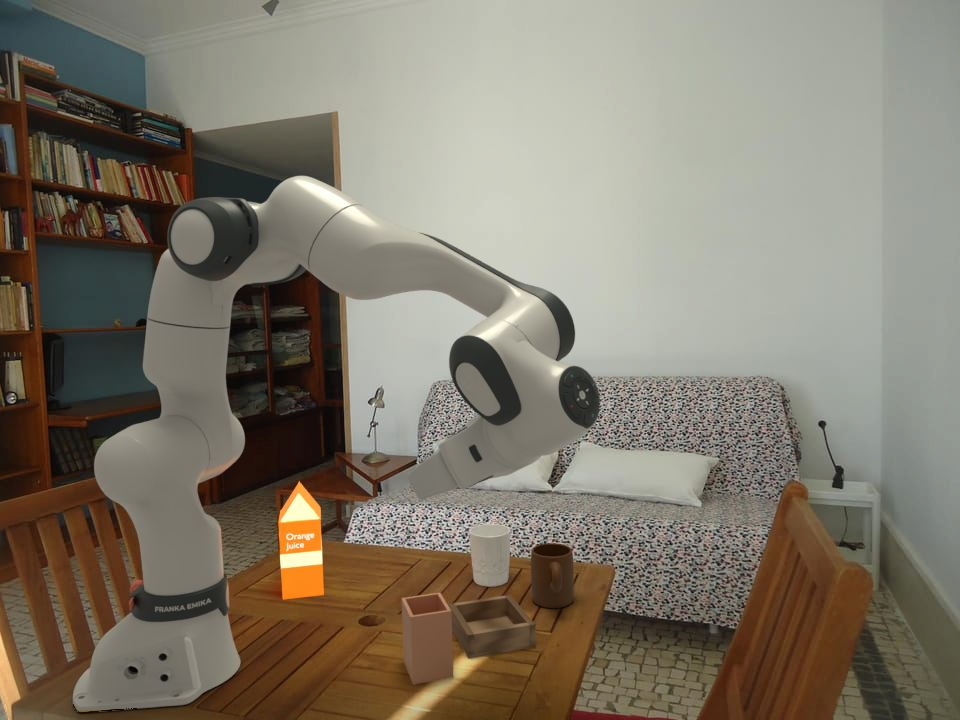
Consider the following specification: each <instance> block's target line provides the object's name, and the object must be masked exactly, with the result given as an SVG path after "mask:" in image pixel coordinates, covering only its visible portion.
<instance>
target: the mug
mask: <svg viewBox="0 0 960 720" xmlns="http://www.w3.org/2000/svg"><path fill="white" fill-rule="evenodd" d="M574 573H575V571H574V555H573V549H572V548H571V547H570V546H568V545H565V544H562V543H556V542H555V543H554V542H552V543H551V542H549V543H541V544H537V545H535V546H533V547H532V548H531V552H530V574H531V575H530V580H531V598H532V601H533V602H534V603H535V604H536V605H538V606H539V607H542V608H546V609H560V608H564V607H567V606H569V605H570V604H572V602H573V601H574V596H575V594H574V593H575V592H574V591H575V589H574V586H575V585H574V582H575V579H574V577H575V576H574Z"/></svg>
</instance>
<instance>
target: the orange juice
mask: <svg viewBox="0 0 960 720" xmlns="http://www.w3.org/2000/svg"><path fill="white" fill-rule="evenodd" d="M321 510H322V509H321V506H320V505H319V503H318V502H317V501H316V500H315V499H314V497H313V496H312V495H311V494H310V492H308V489H306V488H305V487H304V485H303V484H302V483H301V482H300V481H298V483H297V485H296V486H295V487H294V489H293V491H292V492H291V494H290V496H289V497H288V499H287V500H286V502H285V504H283V507H282V508H281V510H279V512H280V513H279V516H278V522H277V523H278V537H279V538H278V539H279V558H280V559H279V561H280V563H279V564H280V574H281V576H280V577H281V591H282V593H281V594H282V600H288V599H289V600H290V599H291V600H292V599H298V598H308V597H318V596H325V595H324V593H325V591H324V589H325V588H324V571H323V570H324V569H323V567H324V566H323V545H322V544H323V542H322V539H323V538H322V527H321V526H322V525H321V524H322V523H321V520H322V514H321V513H322V511H321Z"/></svg>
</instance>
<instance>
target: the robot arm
mask: <svg viewBox="0 0 960 720" xmlns="http://www.w3.org/2000/svg"><path fill="white" fill-rule="evenodd" d="M166 238H167V247H168V248H167V249H166V250H165V251H164V252H163V253H162V254H161V256H160V259H159V261H158V264H157V267H156V271H155V273H154V277H153V280H152V285H151V291H150V294H149V296H150V297H149V301H148V308H147V316H146V317H147V318H146V328H145V329H146V330H145V338H144V339H145V340H144V347H143V348H144V349H143V360H142V370H143V371H142V372H143V373H144V376H145V378H146V379H147V380H148V381H149V382H150V383H151V384H153V385H154V386H156V389H157V391H158V395H159V399H160V404H161V407H160V408H161V411H160V416H159V417H158V418H155V419H151V420H148V421H147V420H146V421H143V422H140V423H135V424H132V425H130V426H127V427H126V428H125V429H122V430H120V431H119V432H117V433H116V434H114V435H112V436H111V437H109V438H108V439H106V440H105V441H104V442H102V444H101V445H100V446H99V448H98V449H97V452H96V454H95V456H94V463H93V470H94V477H95V480H96V482H97V485H98V486H99V488H100V490H101V491H102V492H103V494H104V495H105V496H106V497H107V498H109V499H110V500H111V501H113V502H115V503H117V504H118V505H120V506H122V507H123V509H124V510H125V511H126V512H127V514H128V516H129V517H130V519H131V521H132V523H133V526H134V528H135V531H136V533H137V538H138V543H139V551H140V561H141V571H142V579H143V580H142V579H136V580H134V581H133V582H132V583H131V585H130V587H129V597H128V605H129V606H128V608H129V613H128V614H127V615H126V616H125V617H124V618H122V619H121V620H120V621H119V622H117V624H115V626H113V627H112V628H110V629H109V630H108V631H107V632H106V633H105V634H104V635H103V636H102V637H101V638H100V640H99V641H98V643H97V645H96V647H95V648H94V651H93V652H92V653H93V654H92V657H91V660H90V664H89V665H90V667H89V668H87V669H86V670H85V671H84V672H83V674H81V676H80V677H79V679H78V680H77V682H76V683H75V686H74V688H73V693H72V705H73V704H74V706H75V707H76V708H77V709H78V710H107V709H108V710H109V709H124V710H134V709H133V708H137V709H147V708H160V707H174V706H184V705H185V706H186V705H188V704H191V703H192V702H194V701H195V700H196V699H198V698H199V697H200V696H201V695H202V694H203V693H205V692H208V691H209V690H212V689H214V688H215V687H218V686H219V685H221V684H223V683H225V682H226V681H228V680H229V679H230V678H232V677H233V675H235V674H236V673H237V671H238V670H239V668H240V666H241V657H240V655H239V653H238V651H237V650H238V649H237V648H236V644H235V642H234V637H233V633H232V629H231V623H230V619H229V613H228V612H229V608H230V590H229V582H228V576H227V573H226V572H225V571H224V558H223V557H224V555H223V541H222V528H221V525H220V523H219V522H218V520H217V519H215V517H213V516H212V515H209V514H207V513H206V512H205V511H204V508H203V506H202V504H201V501H200V497H199V494H198V486H199V484H200V483H203V482H206V481H207V480H210V479H212V478H215V477H217V476H220V475H221V474H222V473H224V472H225V471H226V470H227V469H229V468H230V467H231V466H232V465H233V464H234V463H236V462H237V460H238V459H239V458H240V457H241V455H242V453H243V452H244V449H245V444H246V436H245V435H246V434H245V431H244V429H243V428H244V427H243V426H242V424H241V422H240V420H239V419H238V418H237V417H236V416H235V415H234V414H233V412H232V408H231V406H230V402H229V395H228V387H227V378H226V377H227V375H226V374H227V362H228V351H229V339H230V333H231V332H230V330H231V319H232V307H233V301H234V298H235V296H236V293H237V292H238V290H240V288H243V286H245V285H250V286H251V287H254V288H259V287H265V286H268V285H270V286H271V285H276V284H282V283H285V282H288V281H292V280H294V279H296V278H298V277H299V276H301V275H302V274H304V273H305V272H306V271H308V272H309V273H310V274H311V275H313V276H314V277H315V278H317V279H318V280H319V281H321V282H322V283H323V284H324V285H325V286H327V287H328V288H330V290H332V291H334V292H336V293H338V294H340V295H342V296H345V297H347V298H349V299H352V300H357V301H358V300H359V301H367V300H368V301H369V300H377V299H378V300H379V299H382V298H385V297H390V296H393V295H398V294H404V293H408V292H416V291H417V292H418V291H433V292H438V293H442V294H445V295H447V296H450V297H451V298H452V299H455V300H456V301H458V302H459V303H462V304H463V305H464V306H467V307H468V308H470V309H472V310H474V311H476V312H477V313H479V314H481V315H482V316H484V317H486V318H485V319H484V320H482V321H480V322H479V323H477V324H476V325H475V326H473V327H471V328H470V329H469V330H467V332H465V333H464V334H462V335H461V336H460V337H459V338H456V340H455V341H454V342H453V344H452V346H451V347H450V351H449V358H448V365H449V367H448V368H449V373H450V377H451V381H452V382H453V384H454V387H455V388H456V391H457V392H458V393H459V395H460V396H461V398H462V400H463V401H464V402H465V403H466V404H467V405H468V406H469V407H470V409H472V410H473V411H474V412H476V413H475V414H476V415H475V416H473V418H472V419H471V420H469V422H467V423H466V424H465V425H464V427H463V428H461V429H460V430H458V431H457V432H455V433H454V434H452V435H451V436H449V437H447V438H446V439H444V440H443V441H441V442H440V443H439V444H438V449H437V450H436V451H434V453H432V454H431V455H429V456H428V457H427V458H425V459H424V460H423V461H421V462H420V463H419V464H418V465H417V466H415V467H414V468H413V469H412V470H410V471H409V473H408V474H407V480H408V482H409V485H410V487H411V489H412V490H413V493H414V494H415V495H416V497H417V498H418V499H419V500H426V499H429V498H433V497H434V496H435V497H436V496H438V495H441V494H443V493H447V492H449V491H452V490H455V489H457V488H459V489H460V490H466V489H467V488H471V487H473V486H475V485H477V484H480V483H482V482H484V481H487V480H490V479H497V478H500V477H505V476H509V475H512V474H513V473H515V472H518V471H520V470H522V469H523V468H526V467H528V466H530V465H532V464H534V463H536V462H537V461H538V460H539V459H540V458H541V457H542V456H548V455H552V454H554V453H556V452H559V451H560V450H563V449H565V448H566V447H568V446H570V445H571V444H573V443H574V442H576V441H577V440H579V439H580V438H582V437H583V436H585V435H586V434H587V433H588V432H589V431H590V430H591V429H592V427H593V426H594V425H595V423H596V421H597V420H598V419H597V418H598V416H599V413H600V406H601V401H600V400H601V399H600V392H599V389H598V386H597V383H596V382H595V380H594V378H593V377H592V375H591V374H590V373H589V372H588V371H587V370H586V369H585V368H583V367H581V366H580V365H575V364H567V363H564V362H560V361H561V360H562V359H564V358H565V357H567V356H568V355H569V354H570V352H572V349H573V347H574V344H575V342H576V341H575V340H576V328H575V323H574V319H573V317H572V314H571V311H570V310H569V308H568V307H567V305H566V304H565V302H564V301H562V300H561V298H559V297H558V296H557V295H556V294H554V293H552V292H551V291H549V290H547V289H545V288H542V287H540V286H535V285H531V284H529V283H525V282H521V281H519V280H517V279H515V278H512V277H510V276H508V275H506V274H505V273H503V272H502V271H499V270H497V269H496V268H494V267H492V266H491V265H489V264H487V263H485V262H483V261H482V260H480V259H478V258H477V257H475V256H473V255H470V254H469V253H467V252H465V251H464V250H462V249H460V248H458V247H456V246H454V245H452V244H450V243H449V242H447V241H445V240H443V239H440V238H438V237H436V236H433V235H429V234H426V233H424V232H418V231H415V230H412V229H409V228H406V227H403V226H401V225H398V224H397V223H394V222H392V221H390V220H388V219H385V218H383V217H381V216H380V215H378V214H376V213H374V212H373V211H371V209H368V208H367V207H366V206H364V205H363V204H361V203H360V202H358V201H357V200H355V199H354V198H353V197H351V196H349V195H348V194H346V193H344V192H342V191H340V189H338V188H336V187H334V186H331V185H329V184H327V183H325V182H323V181H320V180H318V179H316V178H314V177H311V176H307V175H295V176H292V177H289V178H287V179H285V180H283V181H282V182H280V183H279V184H278V185H277V186H276V187H275V188H274V189H273V191H272V192H271V194H270V195H269V196H268V198H267V199H266V200H265V201H264V202H262V203H258V202H253V201H247V200H246V199H244V198H242V197H221V196H217V197H216V196H212V197H211V196H209V197H200V198H195V199H192V200H189V201H187V202H185V203H183V204H181V205H180V207H178V208H177V209H176V211H175V212H174V213H173V215H172V216H171V219H170V221H169V225H168V228H167V236H166ZM126 708H127V709H126ZM128 708H129V709H128ZM131 708H132V709H131Z"/></svg>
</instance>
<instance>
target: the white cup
mask: <svg viewBox="0 0 960 720" xmlns="http://www.w3.org/2000/svg"><path fill="white" fill-rule="evenodd" d="M468 532H469V544H470V545H469V546H470V557H471V566H472V575H473V581H474V583H475V584H477V585H478V586H481V587H491V588H492V587H499V586H502V585H504V584H506V583H508V581H509V578H510V577H509V575H510V574H509V573H510V571H509V568H510V554H511V553H510V552H511V528H510V527H509V526H507V525H504V524H498V523H484V524H478V525H477V524H476V525H475V526H472V527H471V528H470V529H469V531H468Z"/></svg>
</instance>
